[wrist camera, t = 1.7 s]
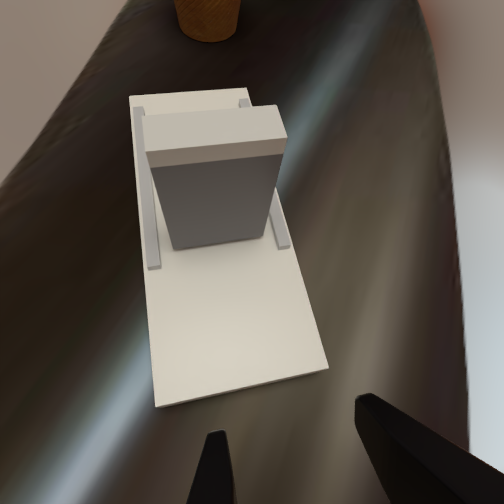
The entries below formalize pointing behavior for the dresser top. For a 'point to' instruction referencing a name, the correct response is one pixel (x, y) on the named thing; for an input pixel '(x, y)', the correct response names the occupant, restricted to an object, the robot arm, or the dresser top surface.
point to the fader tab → (215, 171)
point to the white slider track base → (219, 288)
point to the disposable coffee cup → (208, 18)
